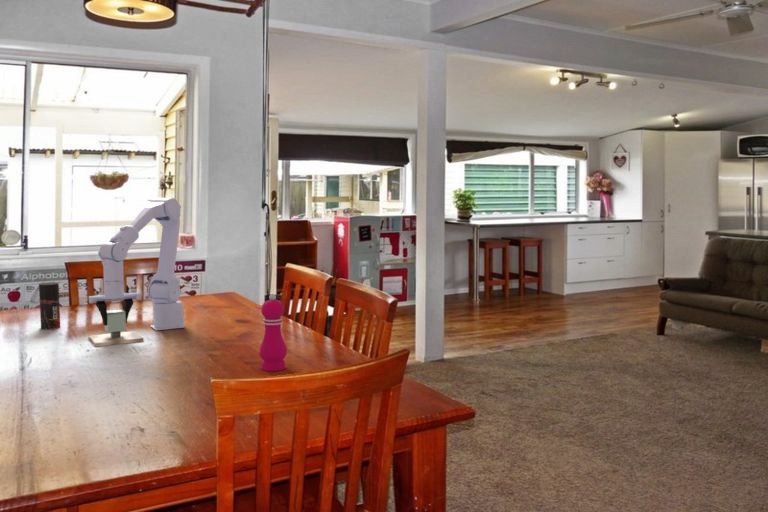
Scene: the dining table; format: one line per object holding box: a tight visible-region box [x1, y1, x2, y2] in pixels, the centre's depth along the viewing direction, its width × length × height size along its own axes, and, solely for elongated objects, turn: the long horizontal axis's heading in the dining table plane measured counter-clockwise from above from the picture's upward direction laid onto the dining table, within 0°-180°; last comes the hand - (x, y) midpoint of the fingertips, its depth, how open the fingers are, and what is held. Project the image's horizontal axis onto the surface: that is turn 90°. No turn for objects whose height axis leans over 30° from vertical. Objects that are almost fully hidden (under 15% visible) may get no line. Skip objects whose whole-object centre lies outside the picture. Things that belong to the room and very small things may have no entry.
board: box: [87, 330, 144, 347], centre depth 213 cm, size 14×12×6 cm
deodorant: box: [38, 282, 61, 330], centre depth 230 cm, size 6×6×15 cm
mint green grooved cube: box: [104, 308, 127, 333], centre depth 212 cm, size 5×5×6 cm
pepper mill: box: [258, 293, 288, 372], centre depth 180 cm, size 7×7×20 cm
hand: (115, 324), depth 213 cm, fingers closed on mint green grooved cube, 5 cm apart
